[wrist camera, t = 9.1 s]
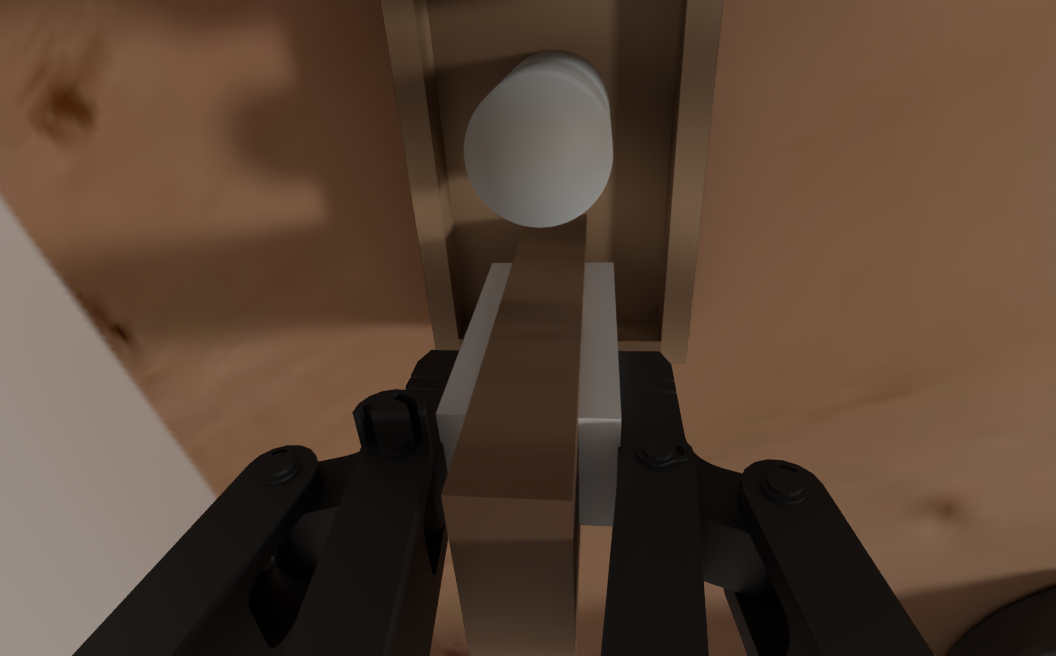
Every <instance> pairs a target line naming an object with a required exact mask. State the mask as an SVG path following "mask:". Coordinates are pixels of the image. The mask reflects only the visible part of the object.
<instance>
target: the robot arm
mask: <svg viewBox="0 0 1056 656" xmlns="http://www.w3.org/2000/svg"><path fill="white" fill-rule="evenodd" d="M511 266H512V263H492V266H491V268H490V271H489V274H488V276H487V279H486V282H485V284H484V287H483V289H482V292H481V295H480V297H479V300H478V303H477V305H476V308H475V311H474V313H473V316H472V319H471V321H470V324H469V327H468V329H467V332H466V335H465V337H464V340H463V343H462V345H461V348H460V350H431V351H430V352H429V353H427V354H426V355H425V356H424V357H423V358H421V359H420V360H419V361H418V362H417V364H416V366H415V368H414V370H413V372H412V375H411V378H410V379H409V381H408V383H407V385H406V390H399V389H394V390H388V391H382V392H379V393H377V394H374V395H371V396H369V397H368V398H366V399H365V400H363V401H362V402H360V403H359V404H358V405H357V407H356V408H355V410H354V411H353V412H352V413H353V416H354V420H355V424H356V428H357V432H358V435H359V439H360V443H361V449H360V451H359V452H357V453H355V454H351V455H348V456H344V457H339V458H334V459H329V460H324V461H319V462H318V460H317V456H316V455H315V454H314V452H313V451H312V450H311V449H309V448H306V447H304V446H301V445H287V446H283V447H279V448H275V449H272V450H270V451H268V452H266V453H264V454H262V455H260V456H259V457H257V458H256V459H255V460H254V461H253V462H251V463H250V464H249V465H248V466H247V467H246V468H245V469H244V470H243V471H242V472H241V474H240V475H239V476H238V477H237V478H236V479H235V480H234V481H233V482H232V483H231V484H230V485H229V486H228V488H227V489H226V490H225V491H224V492H223V493H222V494H221V495H220V496H219V497H218V498H217V499H216V501H215V502H214V503H213V504H212V505H211V506H210V507H209V508H208V509H207V510H206V511H205V513H204V514H203V515H202V516H201V517H200V518H199V519H198V520H197V521H196V522H195V523H194V524H193V525H192V526H191V528H190V529H189V530H188V531H187V532H186V533H185V534H184V535H183V536H182V537H181V538H180V539H179V541H178V542H177V543H176V544H175V545H174V546H173V547H172V548H171V550H169V551H168V552H167V554H166V555H165V556H164V557H163V558H162V559H161V560H160V561H159V562H158V563H157V564H156V566H154V568H153V569H152V570H151V571H150V572H149V573H148V574H147V575H146V576H145V577H144V578H143V579H142V581H141V582H140V583H139V584H138V585H137V586H136V587H135V588H134V589H133V590H132V591H131V592H130V594H129V595H128V596H127V597H126V598H125V599H124V600H123V601H122V602H121V603H120V604H119V605H118V606H117V608H116V609H115V610H114V611H113V612H112V613H111V614H110V615H109V616H108V617H107V619H105V621H104V622H103V623H102V624H101V625H100V626H99V627H98V628H97V629H96V630H95V631H94V632H93V634H92V635H91V636H90V637H89V638H88V639H87V640H86V641H85V642H84V643H83V644H82V645H81V647H80V648H79V649H78V650H77V651H76V652H75V653H74V654H73V655H72V656H430V649H431V643H432V637H433V630H434V624H435V618H436V612H437V605H438V599H439V593H440V586H441V580H442V574H443V568H444V561H445V555H446V549H447V542H448V533H447V526H446V520H445V515H444V509H443V504H442V498H441V494H442V490H443V487H444V484H445V481H446V477H447V474H448V471H449V468H450V464H451V461H452V458H453V455H454V451H455V448H456V445H457V442H458V438H459V435H460V432H461V429H462V425H463V422H464V419H465V416H466V412H467V409H468V406H469V403H470V399H471V396H472V393H473V390H474V386H475V383H476V380H477V377H478V373H479V370H480V367H481V364H482V360H483V357H484V354H485V351H486V348H487V344H488V341H489V338H490V335H491V331H492V328H493V325H494V322H495V318H496V315H497V312H498V309H499V305H500V302H501V299H502V296H503V292H504V289H505V286H506V283H507V279H508V276H509V273H510V270H511ZM578 445H579V525H595V526H613V530H612V541H611V552H610V563H609V574H608V585H607V596H606V607H605V618H604V628H603V639H602V650H601V656H709V653H708V638H707V623H706V608H705V593H704V581H705V582H708V583H711V584H714V585H717V586H720V587H722V588H724V593H725V595H726V598H727V601H728V604H729V606H730V609H731V612H732V614H733V617H734V620H735V622H736V625H737V628H738V630H739V633H740V636H741V639H742V641H743V644H744V647H745V649H746V652H747V655H748V656H934V654H933V653H932V651H931V650H930V648H929V647H928V645H927V644H926V642H925V640H924V639H923V637H922V636H921V634H920V633H919V631H918V630H917V628H916V627H915V625H914V624H913V622H912V620H911V619H910V617H909V616H908V614H907V613H906V611H905V610H904V608H903V607H902V605H901V604H900V602H899V600H898V599H897V597H896V596H895V594H894V593H893V591H892V590H891V588H890V587H889V585H888V584H887V582H886V580H885V579H884V577H883V576H882V574H881V573H880V571H879V570H878V568H877V567H876V565H875V564H874V562H873V560H872V559H871V557H870V556H869V554H868V553H867V551H866V550H865V548H864V547H863V545H862V544H861V542H860V540H859V539H858V537H857V536H856V534H855V533H854V531H853V530H852V528H851V527H850V525H849V524H848V522H847V520H846V519H845V517H844V516H843V514H842V513H841V511H840V510H839V508H838V507H837V505H836V504H835V502H834V500H833V499H832V497H831V496H830V494H829V493H828V491H827V490H826V488H825V487H824V485H823V484H822V483H821V482H820V481H819V480H818V479H817V478H816V476H815V475H814V474H812V473H811V472H809V471H807V470H806V469H804V468H802V467H801V466H799V465H796V464H793V463H790V462H787V461H783V460H769V459H767V460H762V461H758V462H754V463H753V464H751V465H750V466H748V467H747V468H746V469H745V470H744V472H743V474H742V473H738V472H735V471H731V470H727V469H723V468H721V467H718V466H715V465H712V464H710V463H708V462H706V461H705V460H703V459H701V458H700V457H699V456H697V455H696V454H695V453H694V452H693V449H692V447H691V446H690V445H689V444H688V443H687V441H686V439H685V435H684V430H683V424H682V419H681V414H680V408H679V403H678V398H677V394H676V387H675V382H674V376H673V371H672V366H671V364H670V362H669V361H668V360H667V359H666V358H665V357H664V356H663V355H662V354H661V352H660V351H618V342H617V322H616V302H615V283H614V263H613V262H594V263H586V264H585V285H584V306H583V328H582V349H581V370H580V391H579V412H578ZM949 656H1056V588H1054V589H1051V590H1048V591H1045V592H1043V593H1040V594H1037V595H1035V596H1032V597H1030V598H1027V599H1025V600H1023V601H1020V602H1018V603H1016V604H1014V605H1012V606H1010V607H1008V608H1006V609H1004V610H1002V611H1000V612H998V613H997V614H995V615H993V616H992V617H990V618H988V619H987V620H985V621H984V622H982V623H981V624H980V625H978V626H977V627H976V628H974V629H973V630H972V631H970V632H969V633H968V634H967V635H966V636H965V637H964V638H963V639H962V640H961V641H960V642H959V643H958V644H957V645H956V646H955V647H954V649H953V650H952V651H951V652H950V654H949Z"/></svg>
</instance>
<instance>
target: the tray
mask: <svg viewBox="0 0 1056 656" xmlns="http://www.w3.org/2000/svg"><path fill="white" fill-rule="evenodd" d="M381 6H382V12H383V18H384V25H385V31H386V37H387V44H388V50H389V56H390V63H391V69H392V75H393V82H394V88H395V94H396V101H397V107H398V113H399V120H400V126H401V132H402V139H403V145H404V151H405V158H406V164H407V171H408V177H409V183H410V190H411V196H412V202H413V209H414V215H415V221H416V228H417V234H418V240H419V247H420V253H421V259H422V266H423V272H424V278H425V285H426V291H427V297H428V304H429V310H430V316H431V323H432V329H433V335H434V342H435V348H436V350H460V348H461V345H462V343H463V340H464V337H465V335H466V332H467V329H468V327H469V324H470V321H471V319H472V316H473V313H474V311H475V308H476V305H477V303H478V300H479V297H480V295H481V292H482V289H483V287H484V284H485V282H486V279H487V276H488V274H489V271H490V268H491V266H492V263H512V266H511V270H510V273H509V276H508V279H507V283H506V286H505V289H504V292H503V296H502V299H501V302H500V305H499V309H498V312H497V315H496V318H495V322H494V325H493V328H492V331H491V335H490V338H489V341H488V344H487V348H486V351H485V354H484V357H483V360H482V364H481V367H480V370H479V373H478V377H477V380H476V383H475V386H474V390H473V393H472V396H471V399H470V403H469V406H468V409H467V412H466V416H465V419H464V422H463V425H462V429H461V432H460V435H459V438H458V442H457V445H456V448H455V451H454V455H453V458H452V461H451V464H450V468H449V471H448V474H447V477H446V481H445V484H444V487H443V490H442V494H441V498H442V504H443V509H444V515H445V520H446V526H447V532H448V537H449V543H450V548H451V554H452V560H453V565H454V571H455V576H456V582H457V587H458V593H459V599H460V604H461V610H462V615H463V621H464V626H465V632H466V638H467V643H468V649H469V654H470V656H576V641H577V612H578V583H579V553H580V525H579V445H578V412H579V391H580V370H581V349H582V328H583V306H584V285H585V264H586V263H594V262H613V263H614V283H615V302H616V322H617V342H618V351H660V352H661V354H662V355H663V356H664V357H665V358H666V359H667V360H668V361H669V362H670V363H681V364H686V355H687V346H688V336H689V326H690V317H691V307H692V297H693V288H694V278H695V268H696V259H697V249H698V239H699V230H700V220H701V210H702V201H703V191H704V181H705V172H706V162H707V152H708V143H709V133H710V123H711V114H712V104H713V94H714V85H715V75H716V65H717V56H718V46H719V36H720V27H721V17H722V7H723V0H381Z"/></svg>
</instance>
